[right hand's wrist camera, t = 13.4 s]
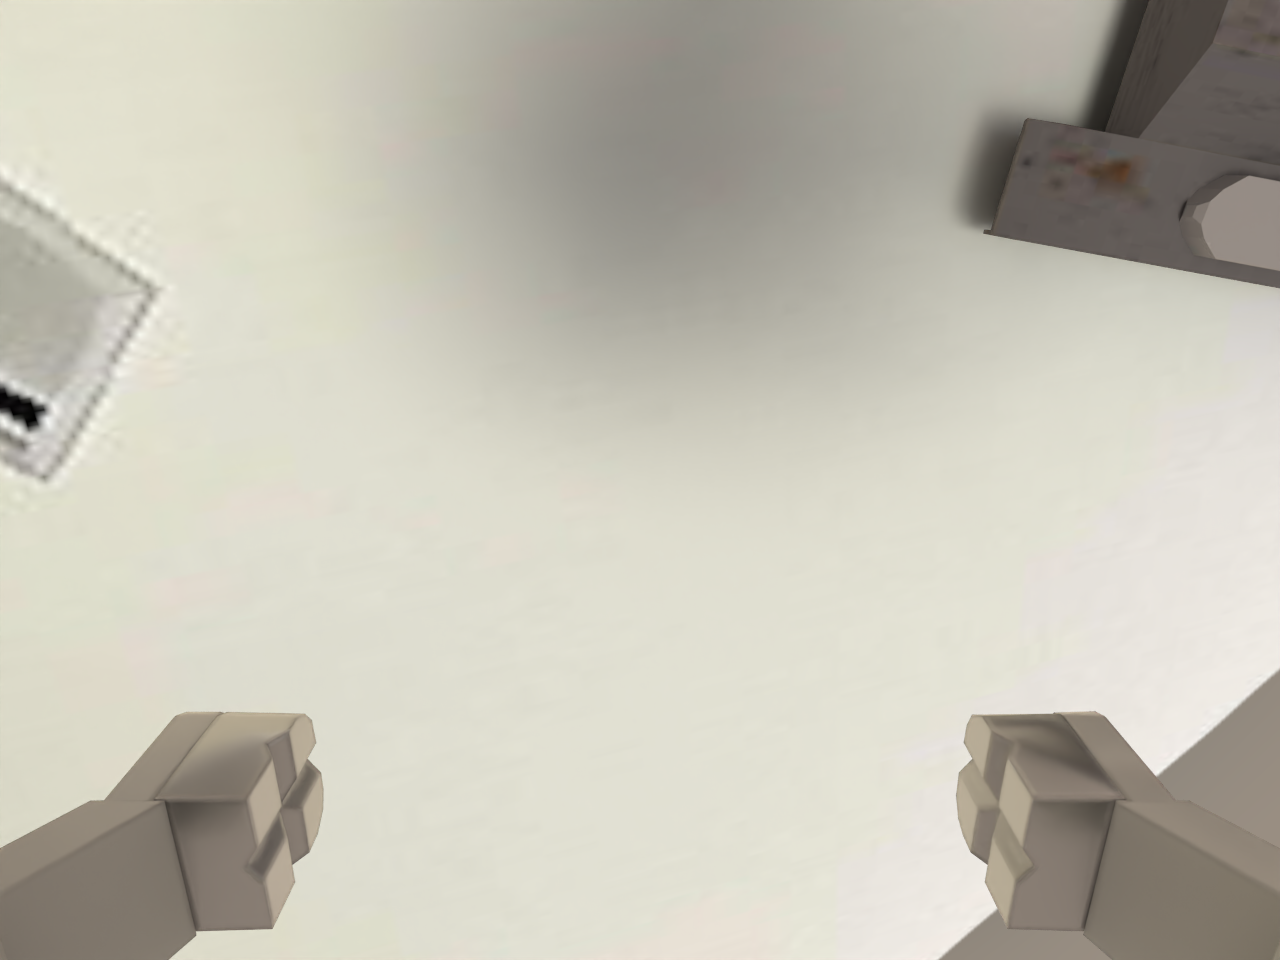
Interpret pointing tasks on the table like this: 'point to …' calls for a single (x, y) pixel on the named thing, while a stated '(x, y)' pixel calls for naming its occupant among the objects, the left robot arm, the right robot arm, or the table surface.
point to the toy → (1168, 152)
